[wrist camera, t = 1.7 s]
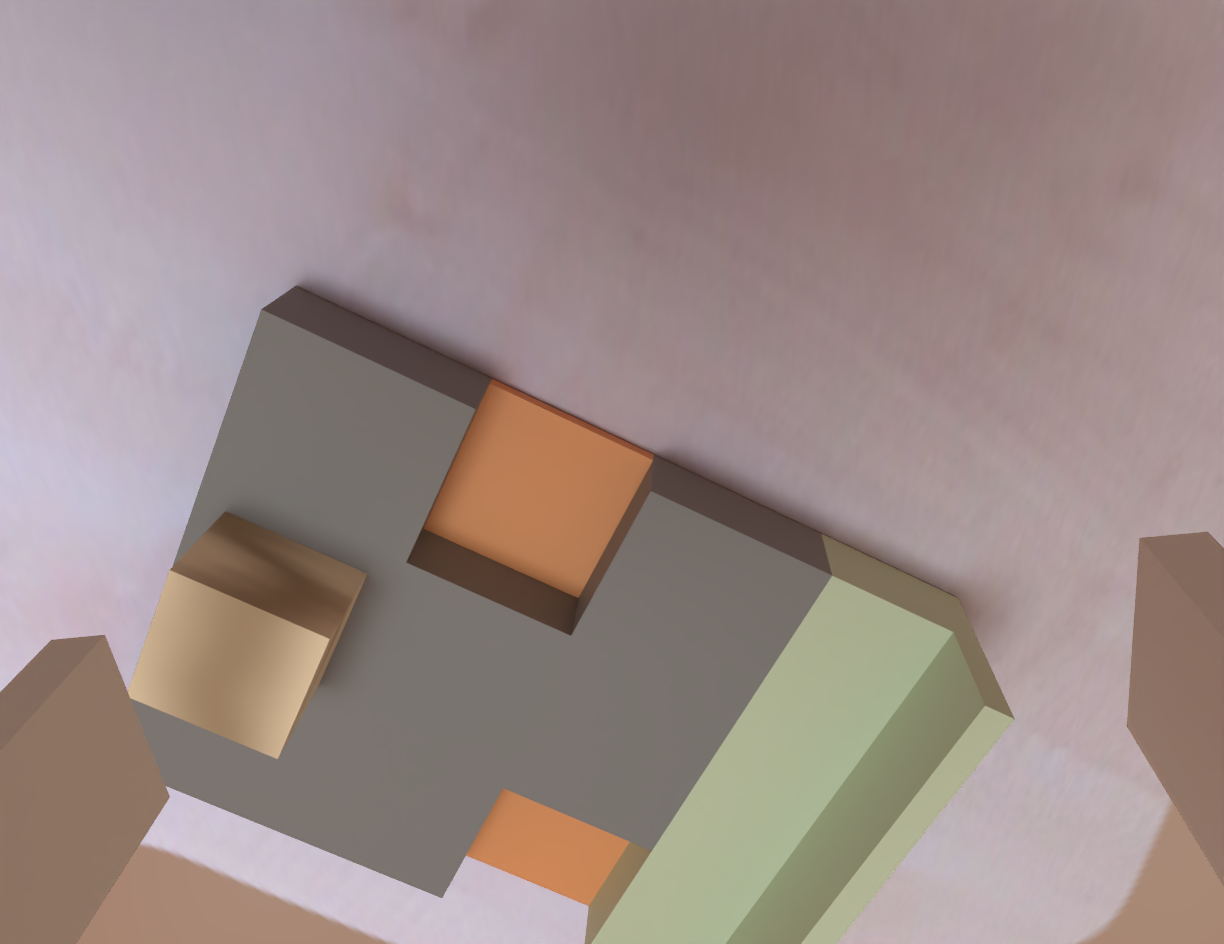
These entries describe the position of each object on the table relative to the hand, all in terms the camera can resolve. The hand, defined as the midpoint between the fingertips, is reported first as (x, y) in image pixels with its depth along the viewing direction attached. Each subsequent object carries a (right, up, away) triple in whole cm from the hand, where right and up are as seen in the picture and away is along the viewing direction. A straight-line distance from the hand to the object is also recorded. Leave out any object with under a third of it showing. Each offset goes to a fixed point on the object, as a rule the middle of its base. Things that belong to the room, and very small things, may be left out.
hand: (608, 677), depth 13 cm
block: (-11, -2, +22) cm, 25 cm away
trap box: (-3, -4, +26) cm, 26 cm away
